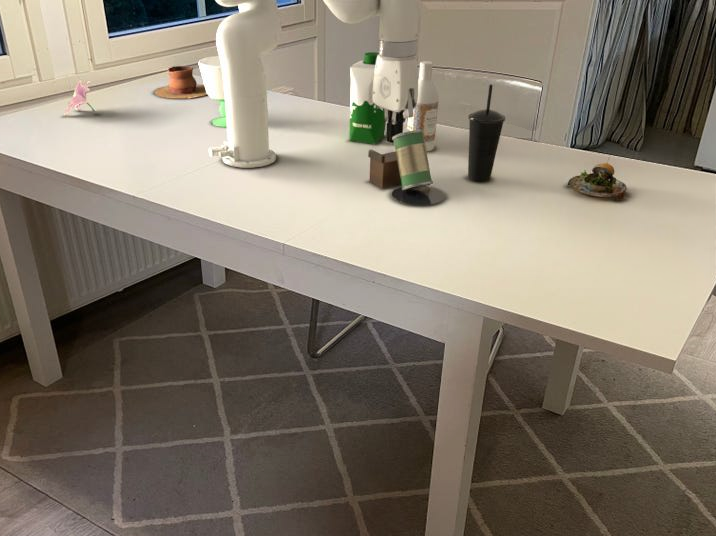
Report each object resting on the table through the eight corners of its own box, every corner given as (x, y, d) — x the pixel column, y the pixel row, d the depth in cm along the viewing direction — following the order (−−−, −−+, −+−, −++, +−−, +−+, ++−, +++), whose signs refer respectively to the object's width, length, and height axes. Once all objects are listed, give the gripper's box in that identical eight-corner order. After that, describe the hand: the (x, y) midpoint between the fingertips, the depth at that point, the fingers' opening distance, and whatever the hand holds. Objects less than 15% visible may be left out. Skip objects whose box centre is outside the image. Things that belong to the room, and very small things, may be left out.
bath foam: (418, 154, 172) (424, 66, 160) (400, 147, 176) (405, 61, 165) (439, 149, 175) (447, 63, 163) (421, 142, 179) (428, 58, 168)
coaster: (412, 210, 143) (412, 208, 143) (381, 193, 151) (381, 191, 151) (455, 199, 148) (455, 198, 147) (422, 183, 155) (422, 182, 155)
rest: (380, 189, 152) (381, 156, 148) (367, 182, 156) (368, 149, 152) (413, 181, 156) (416, 149, 152) (400, 175, 160) (402, 143, 156)
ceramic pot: (146, 97, 216) (142, 73, 212) (165, 83, 231) (163, 60, 227) (202, 100, 214) (200, 75, 210) (219, 86, 228) (217, 62, 224)
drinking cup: (498, 175, 160) (512, 82, 148) (493, 186, 154) (507, 90, 142) (464, 171, 162) (475, 79, 150) (458, 182, 156) (469, 87, 144)
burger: (555, 186, 154) (561, 152, 149) (598, 179, 157) (606, 145, 153) (593, 206, 144) (601, 170, 140) (638, 197, 148) (647, 162, 144)
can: (410, 203, 147) (423, 146, 138) (378, 177, 154) (389, 121, 146) (435, 199, 150) (449, 142, 141) (402, 173, 157) (415, 117, 149)
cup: (264, 120, 196) (261, 59, 187) (233, 132, 187) (228, 68, 178) (225, 112, 202) (220, 53, 193) (193, 124, 193) (187, 62, 184)
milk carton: (388, 135, 184) (393, 53, 173) (377, 146, 177) (381, 60, 166) (356, 132, 187) (359, 50, 175) (344, 142, 180) (346, 57, 168)
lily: (99, 109, 209) (77, 80, 204) (117, 100, 200) (95, 69, 195) (70, 132, 203) (47, 102, 198) (87, 123, 194) (64, 91, 190)
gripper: (361, 45, 145) (360, 136, 155) (405, 57, 134) (401, 153, 145) (390, 41, 148) (387, 130, 158) (436, 52, 138) (430, 147, 148)
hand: (394, 141), depth 151 cm, fingers closed
